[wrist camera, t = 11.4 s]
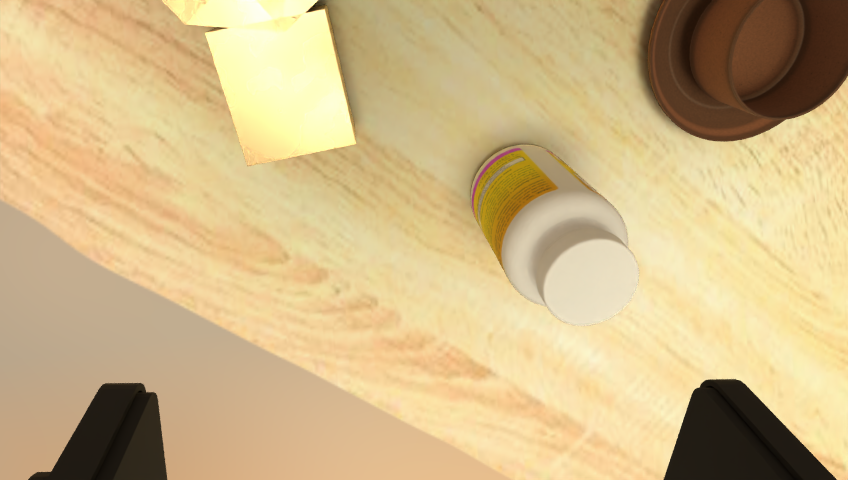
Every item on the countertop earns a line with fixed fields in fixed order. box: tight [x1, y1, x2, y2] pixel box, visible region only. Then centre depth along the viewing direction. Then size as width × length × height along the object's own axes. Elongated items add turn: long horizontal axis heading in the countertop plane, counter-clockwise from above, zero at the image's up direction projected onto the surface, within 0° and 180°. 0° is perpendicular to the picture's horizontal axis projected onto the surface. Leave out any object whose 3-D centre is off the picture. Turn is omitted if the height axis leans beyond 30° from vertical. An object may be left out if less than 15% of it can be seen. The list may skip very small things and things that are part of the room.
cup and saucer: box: [648, 0, 848, 141], centre depth 34 cm, size 12×12×6 cm
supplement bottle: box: [471, 144, 639, 326], centre depth 34 cm, size 7×7×13 cm
